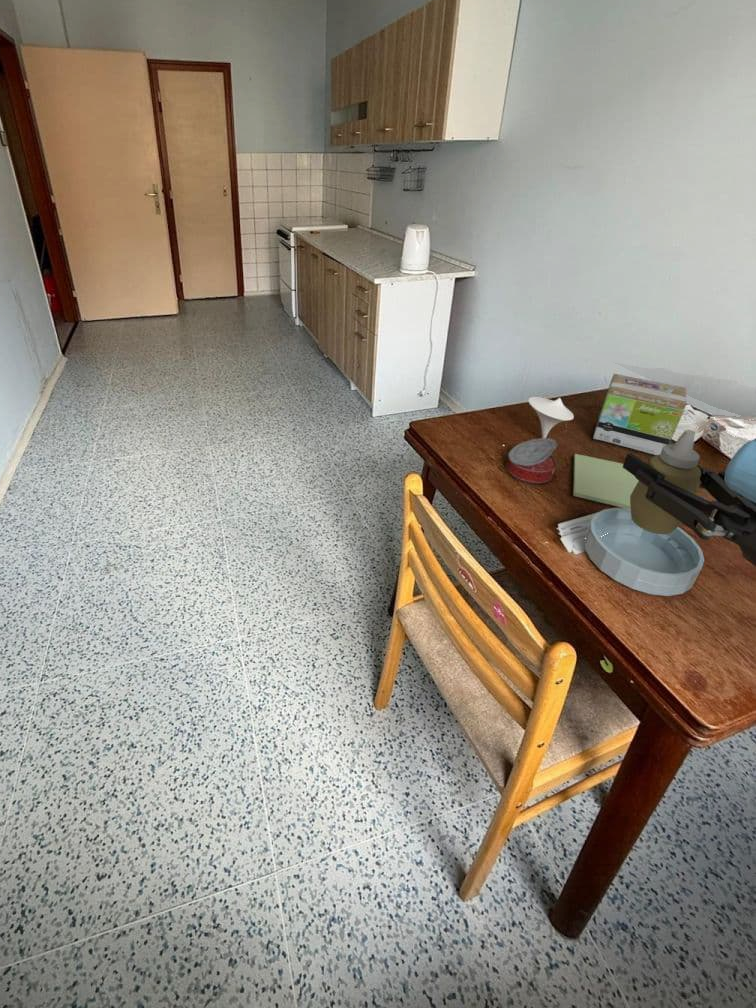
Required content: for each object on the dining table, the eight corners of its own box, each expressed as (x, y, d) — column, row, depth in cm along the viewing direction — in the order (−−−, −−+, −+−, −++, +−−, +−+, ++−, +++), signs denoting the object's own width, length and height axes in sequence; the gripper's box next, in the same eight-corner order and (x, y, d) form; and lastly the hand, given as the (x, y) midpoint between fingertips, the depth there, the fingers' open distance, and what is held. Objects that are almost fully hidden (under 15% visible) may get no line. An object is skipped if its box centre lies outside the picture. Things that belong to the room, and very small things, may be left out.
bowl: (683, 544, 86) (693, 523, 84) (701, 612, 73) (714, 590, 71) (583, 518, 93) (590, 498, 90) (583, 577, 80) (591, 555, 78)
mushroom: (556, 429, 122) (567, 388, 116) (572, 452, 113) (585, 408, 107) (515, 428, 123) (524, 387, 118) (527, 451, 114) (538, 407, 108)
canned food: (534, 500, 105) (533, 477, 98) (497, 474, 112) (494, 450, 105) (569, 467, 106) (570, 442, 99) (531, 443, 113) (529, 419, 106)
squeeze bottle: (676, 548, 74) (721, 452, 65) (618, 525, 79) (652, 433, 70) (684, 521, 79) (727, 429, 71) (629, 501, 84) (662, 413, 76)
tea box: (591, 440, 117) (608, 386, 110) (596, 423, 125) (612, 372, 118) (664, 458, 110) (687, 402, 103) (665, 439, 117) (687, 385, 110)
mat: (676, 478, 103) (678, 475, 102) (689, 524, 90) (691, 520, 90) (573, 457, 111) (574, 453, 111) (573, 495, 99) (574, 492, 98)
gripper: (722, 594, 59) (588, 483, 79) (843, 566, 62) (685, 467, 82) (747, 549, 55) (600, 446, 75) (874, 523, 59) (701, 430, 79)
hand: (645, 457), depth 79 cm, fingers closed on squeeze bottle, 6 cm apart
